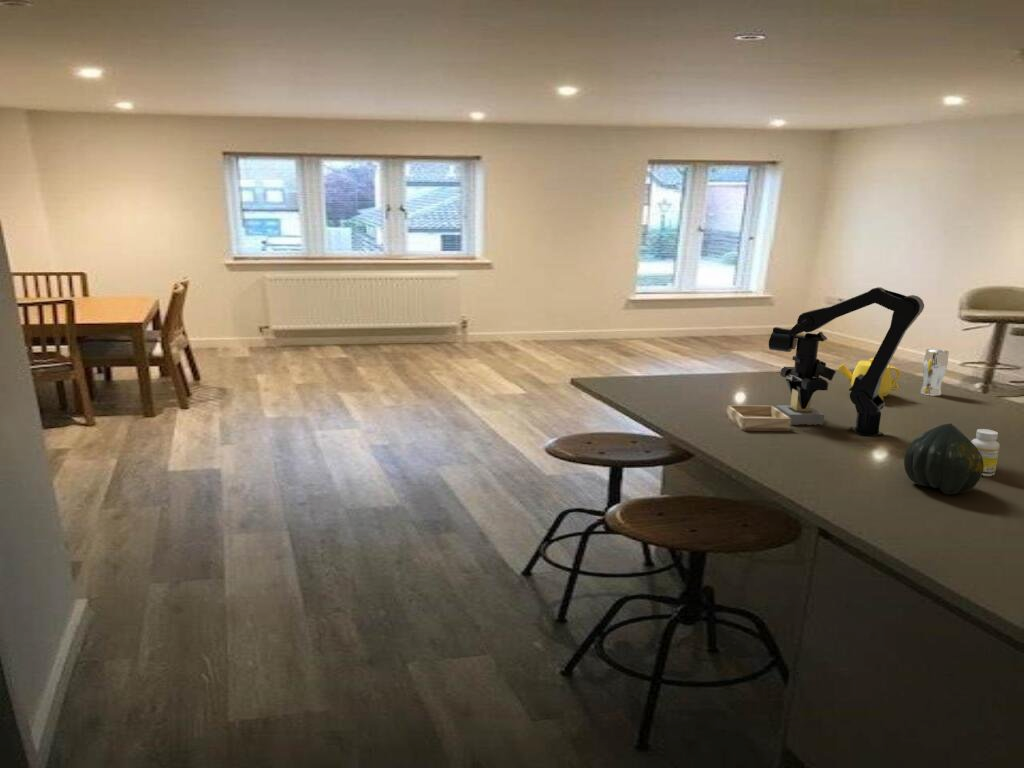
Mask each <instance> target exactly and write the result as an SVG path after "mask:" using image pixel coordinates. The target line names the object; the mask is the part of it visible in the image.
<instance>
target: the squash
mask: <svg viewBox="0 0 1024 768" xmlns="http://www.w3.org/2000/svg"><path fill="white" fill-rule="evenodd" d="M971 441H972V440H970V439H969V438H968V437H967V436H966V435H965V434H964V433H963V432H962V431H961V430H960V429H959V428H958V427H956V426H955V425H954V424H953V423H945V424H941V425H938V426H936V427H934V428H931V429H929V430H926V431H924V432H923V433H921V434H920V435H918V436H917V437H915V438H914V439H913V441H911V443H910V444H909V445H908V447H907V448H906V450H905V452H904V456H903V465H904V471H905V473H906V475H907V477H908V479H909V480H910V481H911V482H913V483H914V484H916V485H918V486H921V485H922V486H923V487H924V486H925V487H932V488H937V489H938V488H939V489H940V491H941V492H942V493H943V494H945V495H955V494H957V493H958V494H959V493H967V492H968V491H970V490H972V489H973V488H975V487H976V485H977V484H978V482H979V481H980V480H981V478H982V477H983V476H982V473H983V468H984V465H983V458H982V456H981V454H980V452H979V451H978V449H977V448H976V446H975V445H974V444H973V443H972V442H971Z"/></svg>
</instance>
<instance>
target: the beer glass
mask: <svg viewBox="0 0 1024 768" xmlns="http://www.w3.org/2000/svg"><path fill="white" fill-rule="evenodd" d="M925 351H926V352H925V355H924V358H923V366H922V369H923V370H922V372H923V373H922V374H923V381H922V386H921V388H920V394H921V395H924V396H925V395H926V396H929V395H930V397H940V396H941V395H942V382H943V380H944V377H945V374H946V371H947V369H948V365H949V363H948V362H949V351H948V350H944V349H938V348H937V349H933V348H931V349H930V348H929V349H928V348H927V349H925Z"/></svg>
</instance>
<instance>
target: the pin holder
mask: <svg viewBox="0 0 1024 768" xmlns="http://www.w3.org/2000/svg"><path fill="white" fill-rule="evenodd" d="M790 406H791V404H789V405H786V404H785V405H779V404H778V405H775V408H776V409H778V410H779V411H781V412H782V413H784V414H785V415H787V416H788V417H790V418H791V426H792V425H793V426H794V425H795V426H796V425H797V426H799V424H807V426H811V425H812V424H814V425H812V426H817V425H816V424H821V425H820V426H823V425H824V420H825V414H824V413H822V412H820V411H819V410H817V409H815V408H814V407H812V406H811V405H810V412H809V413H801V412H793V411H792V410H790Z"/></svg>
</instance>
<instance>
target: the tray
mask: <svg viewBox="0 0 1024 768" xmlns="http://www.w3.org/2000/svg"><path fill="white" fill-rule="evenodd" d="M725 417H726V418H727V420H729V421H731V422H732V424H734V425H735V426H736V427H737V428H738V429H740V430H741V431H754V432H755V431H763V432H764V431H765V432H767V431H771V432H772V431H773V432H774V431H775V432H777V431H778V432H780V431H781V432H782V431H784V432H785V431H787V432H788V431H789V432H790V431H791V426H792V425H791V418H790V417H788V416H787V415H785V414H784V413H782V412H781V411H779V410H778V409H776V406H773V405H750V404H749V405H745V404H743V405H734V404H729V405H726V412H725Z"/></svg>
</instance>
